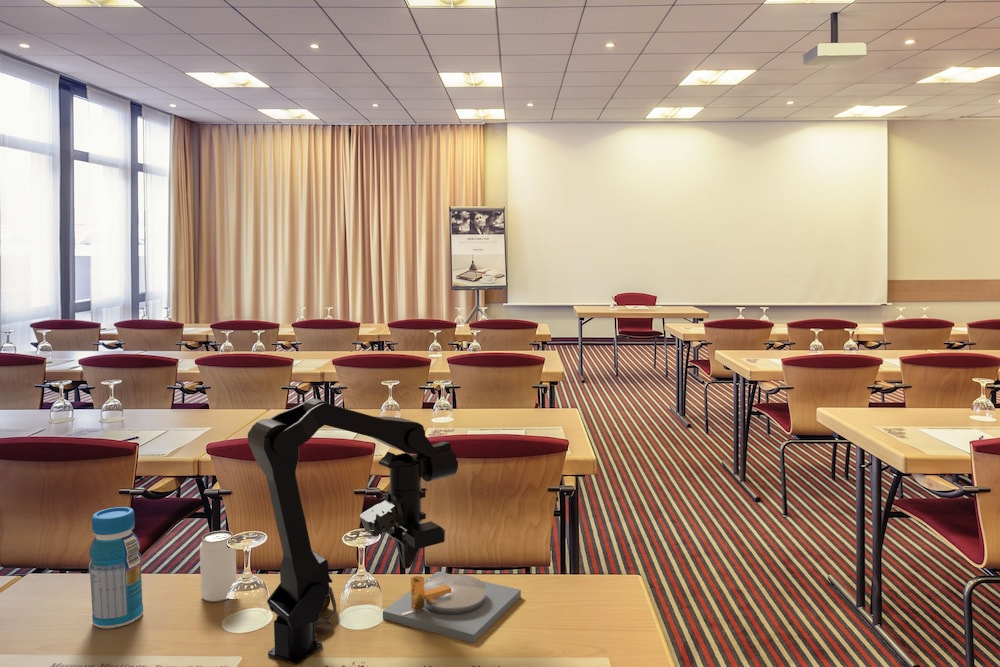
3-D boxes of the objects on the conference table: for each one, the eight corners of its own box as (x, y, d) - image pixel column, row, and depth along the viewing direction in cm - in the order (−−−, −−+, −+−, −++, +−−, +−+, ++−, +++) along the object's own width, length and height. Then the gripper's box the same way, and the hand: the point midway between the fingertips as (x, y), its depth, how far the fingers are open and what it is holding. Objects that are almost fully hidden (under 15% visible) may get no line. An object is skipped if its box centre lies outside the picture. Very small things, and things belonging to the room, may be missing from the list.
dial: (465, 579, 140) (465, 552, 139) (497, 602, 129) (497, 573, 129) (398, 597, 132) (397, 568, 131) (426, 624, 122) (426, 593, 121)
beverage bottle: (96, 635, 122) (90, 524, 120) (87, 617, 128) (82, 511, 126) (149, 620, 127) (144, 513, 125) (138, 603, 133) (133, 501, 132)
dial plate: (473, 643, 119) (473, 633, 119) (382, 618, 127) (382, 609, 127) (520, 597, 136) (520, 588, 136) (437, 578, 144) (437, 570, 144)
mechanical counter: (349, 574, 134) (298, 564, 133) (337, 599, 121) (280, 588, 120) (341, 611, 134) (289, 601, 133) (328, 640, 121) (271, 629, 120)
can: (201, 591, 138) (198, 532, 137) (235, 585, 141) (233, 527, 140) (202, 605, 133) (199, 544, 132) (238, 598, 135) (236, 538, 134)
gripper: (343, 482, 132) (345, 562, 133) (389, 508, 117) (391, 598, 118) (396, 472, 138) (397, 548, 140) (446, 496, 123) (447, 581, 125)
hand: (406, 567), depth 130 cm, fingers closed
